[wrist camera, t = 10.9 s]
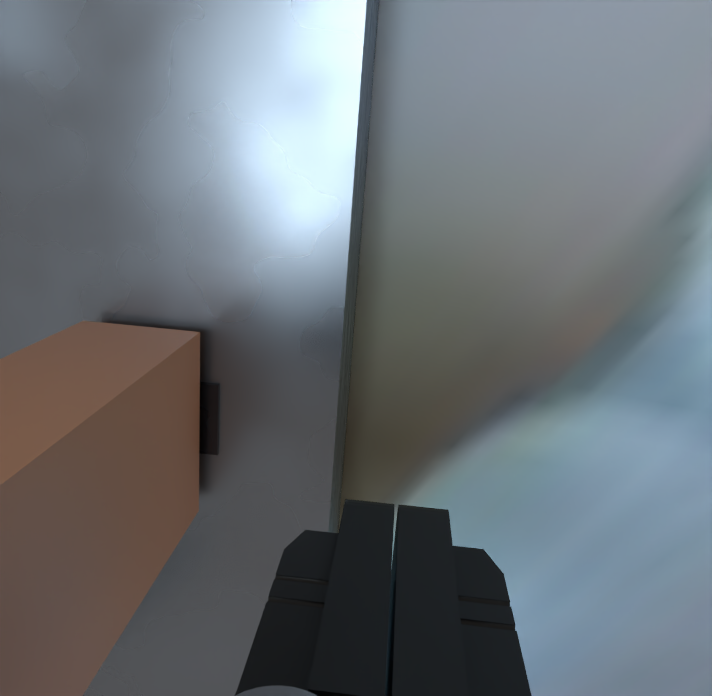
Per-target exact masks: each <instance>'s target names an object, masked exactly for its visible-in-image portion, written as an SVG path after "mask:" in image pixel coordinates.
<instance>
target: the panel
mask: <svg viewBox="0 0 712 696" xmlns="http://www.w3.org/2000/svg"><path fill="white" fill-rule="evenodd" d="M378 7H379V0H0V359H1V358H3V357H6V356H8V355H10V354H12V353H14V352H16V351H19V350H21V349H23V348H25V347H27V346H29V345H32V344H34V343H36V342H38V341H40V340H42V339H45V338H47V337H49V336H51V335H53V334H55V333H58V332H60V331H62V330H64V329H66V328H68V327H71V326H73V325H75V324H77V323H79V322H81V321H92V322H103V323H113V324H123V325H134V326H144V327H154V328H165V329H175V330H185V331H195V332H200V423H199V511H198V513H197V514H196V516H195V517H194V519H193V521H192V522H191V524H190V525H189V527H188V529H187V530H186V532H185V533H184V535H183V537H182V538H181V540H180V541H179V543H178V544H177V546H176V548H175V549H174V551H173V552H172V554H171V556H170V557H169V559H168V560H167V562H166V564H165V565H164V567H163V568H162V570H161V572H160V573H159V575H158V576H157V578H156V580H155V581H154V583H153V584H152V586H151V588H150V589H149V591H148V592H147V594H146V596H145V597H144V599H143V600H142V602H141V603H140V605H139V607H138V608H137V610H136V611H135V613H134V615H133V616H132V618H131V619H130V621H129V623H128V624H127V626H126V627H125V629H124V631H123V632H122V634H121V635H120V637H119V639H118V640H117V642H116V643H115V645H114V647H113V648H112V650H111V651H110V653H109V654H108V656H107V658H106V659H105V661H104V662H103V664H102V666H101V667H100V669H99V670H98V672H97V674H96V675H95V677H94V678H93V680H92V682H91V683H90V685H89V686H88V688H87V690H86V691H85V693H84V694H83V696H235V693H236V691H237V688H238V685H239V682H240V679H241V676H242V673H243V670H244V667H245V664H246V661H247V658H248V655H249V652H250V649H251V646H252V643H253V640H254V637H255V634H256V631H257V628H258V625H259V622H260V619H261V616H262V614H263V611H264V608H265V605H266V602H268V596H269V593H270V590H271V587H272V584H273V581H274V579H275V576H276V572H277V569H278V566H279V563H280V560H281V557H282V554H283V551H284V549H285V548H286V547H287V546H288V545H289V544H290V543H291V542H292V541H294V540H295V539H296V538H297V537H298V536H299V535H300V534H301V533H302V532H303V531H305V530H313V531H322V532H331V533H338V527H339V514H340V501H341V488H342V475H343V462H344V449H345V436H346V423H347V410H348V397H349V384H350V371H351V358H352V345H353V332H354V319H355V306H356V293H357V280H358V267H359V254H360V241H361V228H362V215H363V202H364V189H365V176H366V163H367V150H368V137H369V124H370V111H371V98H372V85H373V72H374V59H375V46H376V33H377V20H378Z"/></svg>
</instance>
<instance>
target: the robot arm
mask: <svg viewBox="0 0 712 696" xmlns="http://www.w3.org/2000/svg"><path fill="white" fill-rule="evenodd" d="M393 523H394V504H386V503H377V502H368V501H359V500H349V499H346V500H345V504H344V509H343V514H342V519H341V524H340V529H339V533H331V532H322V531H313V530H305V531H303V532H302V533H301V534H300V535H299V536H298V537H297V538H296V539H295V540H294V541H292V542H291V543H290V544H289V545H288V546H287V547H286V548H285V549H284V551H283V554H282V557H281V560H280V563H279V566H278V569H277V572H276V576H275V579H274V581H273V584H272V587H271V590H270V593H269V596H268V602H266V605H265V608H264V611H263V614H262V616H261V619H260V622H259V625H258V628H257V631H256V634H255V637H254V640H253V643H252V646H251V649H250V652H249V655H248V658H247V661H246V664H245V667H244V670H243V673H242V676H241V679H240V682H239V685H238V688H237V691H236V693H235V696H531V692H530V688H529V683H528V679H527V675H526V670H525V666H524V661H523V657H522V653H521V648H520V644H519V639H518V635H517V631H515V622H514V618H513V613H512V609H511V607H510V600H509V596H508V591H507V587H506V582H505V578H504V574H503V573H502V571H501V570H500V569H499V568H498V566H497V565H496V564H495V563H494V562H493V560H492V559H491V558H490V557H489V556H488V554H487V553H486V552H485V551H484V549H476V548H467V547H458V546H452V537H451V528H450V519H449V512H448V510H444V509H434V508H425V507H416V506H407V505H398V512H397V521H396V531H395V541H394V550H393V560H392V543H393ZM391 563H392V570H391Z"/></svg>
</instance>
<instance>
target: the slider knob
mask: <svg viewBox="0 0 712 696" xmlns="http://www.w3.org/2000/svg"><path fill="white" fill-rule="evenodd" d="M199 423H200V332H195V331H185V330H175V329H165V328H154V327H144V326H134V325H123V324H113V323H103V322H92V321H81V322H79V323H77V324H75V325H73V326H71V327H68V328H66V329H64V330H62V331H60V332H58V333H55V334H53V335H51V336H49V337H47V338H45V339H42V340H40V341H38V342H36V343H34V344H32V345H29V346H27V347H25V348H23V349H21V350H19V351H16V352H14V353H12V354H10V355H8V356H6V357H3V358H1V359H0V696H83V694H84V693H85V691H86V690H87V688H88V686H89V685H90V683H91V682H92V680H93V678H94V677H95V675H96V674H97V672H98V670H99V669H100V667H101V666H102V664H103V662H104V661H105V659H106V658H107V656H108V654H109V653H110V651H111V650H112V648H113V647H114V645H115V643H116V642H117V640H118V639H119V637H120V635H121V634H122V632H123V631H124V629H125V627H126V626H127V624H128V623H129V621H130V619H131V618H132V616H133V615H134V613H135V611H136V610H137V608H138V607H139V605H140V603H141V602H142V600H143V599H144V597H145V596H146V594H147V592H148V591H149V589H150V588H151V586H152V584H153V583H154V581H155V580H156V578H157V576H158V575H159V573H160V572H161V570H162V568H163V567H164V565H165V564H166V562H167V560H168V559H169V557H170V556H171V554H172V552H173V551H174V549H175V548H176V546H177V544H178V543H179V541H180V540H181V538H182V537H183V535H184V533H185V532H186V530H187V529H188V527H189V525H190V524H191V522H192V521H193V519H194V517H195V516H196V514H197V513H198V511H199Z"/></svg>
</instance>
